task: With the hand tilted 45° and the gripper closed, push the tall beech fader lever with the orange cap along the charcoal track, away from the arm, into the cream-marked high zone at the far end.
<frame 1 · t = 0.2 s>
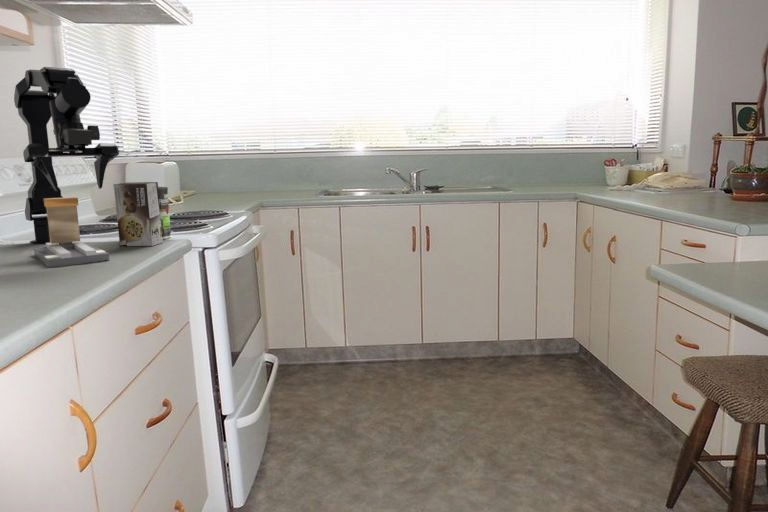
hand: (79, 189, 136), 16 cm above the counter, tool tilted 15°, fingers open, 9 cm apart
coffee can: (152, 239, 167), on the counter
fader deck: (70, 257, 138), on the counter
grey printed cardboard box: (141, 245, 156), on the counter
fader: (63, 222, 141), point 8 cm above the counter, slide at -5.0 cm
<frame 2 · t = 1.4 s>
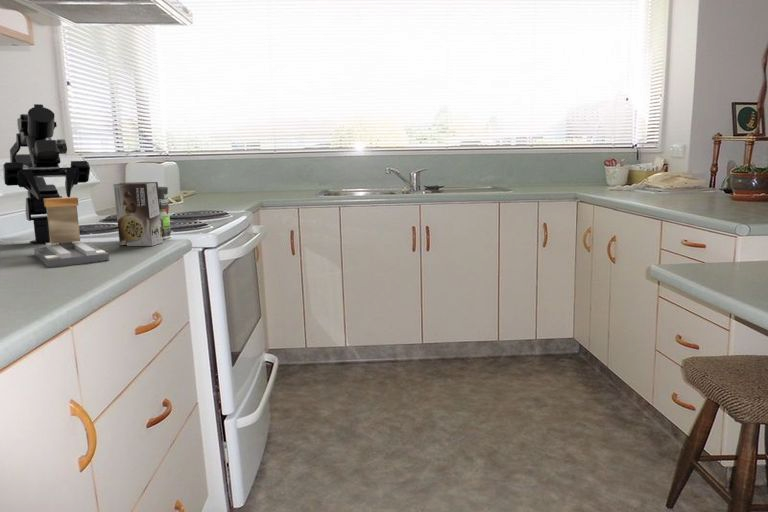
hand: (54, 197, 146), 13 cm above the counter, tool tilted 45°, fingers open, 6 cm apart
nothing on the counter moved.
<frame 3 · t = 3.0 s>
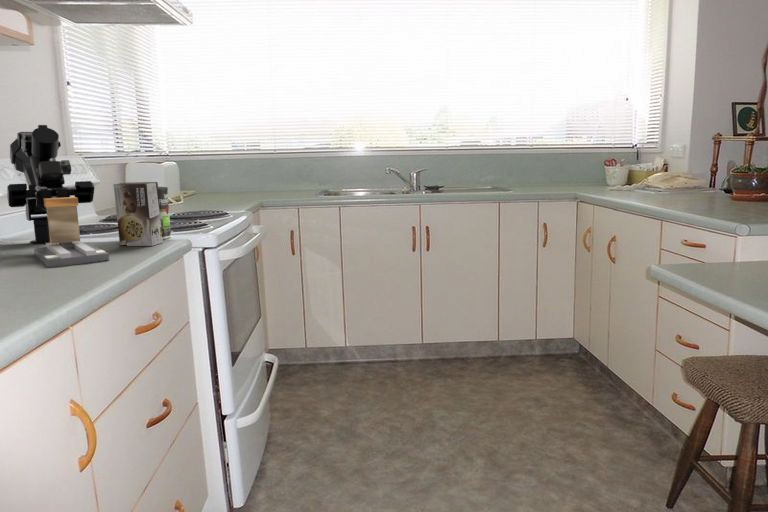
hand: (58, 219, 145), 8 cm above the counter, tool tilted 45°, fingers closed
nothing on the counter moved.
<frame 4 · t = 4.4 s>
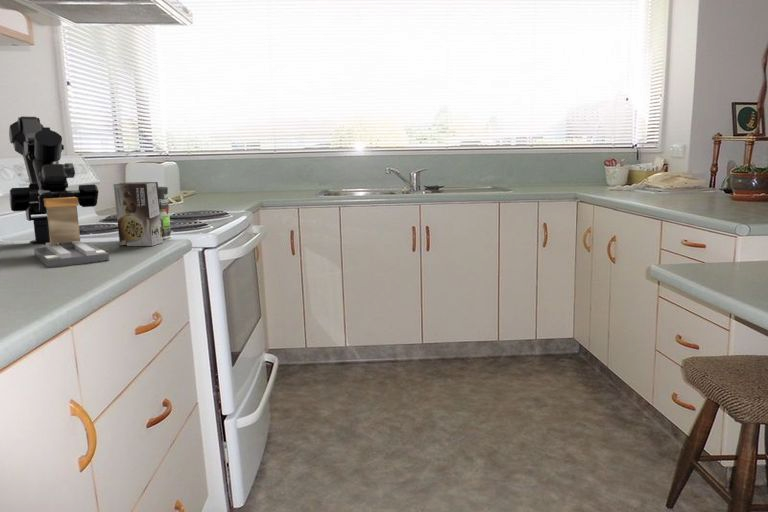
hand: (62, 223, 142), 7 cm above the counter, tool tilted 45°, fingers closed, pressing on fader
fader: (63, 222, 141), point 8 cm above the counter, slide at -5.0 cm, touching gripper
everything else where it was.
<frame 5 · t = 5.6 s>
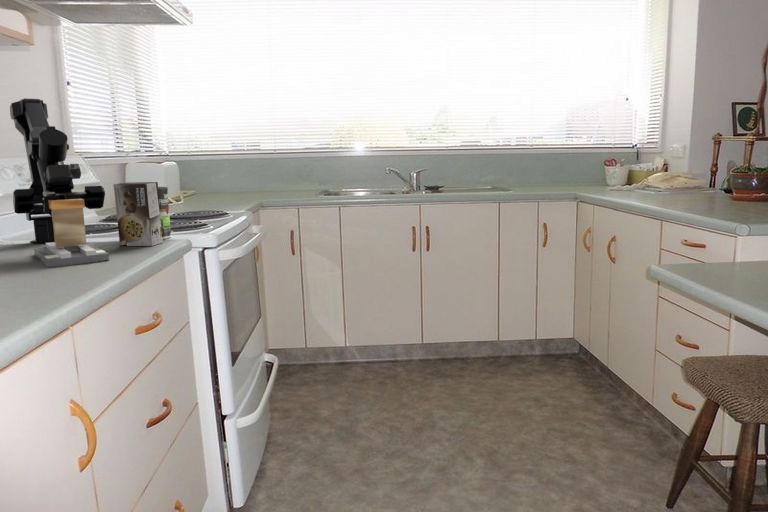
hand: (67, 226, 136), 7 cm above the counter, tool tilted 45°, fingers closed, pressing on fader
fader: (68, 225, 135), point 8 cm above the counter, slide at 1.9 cm, touching gripper
everything else where it was.
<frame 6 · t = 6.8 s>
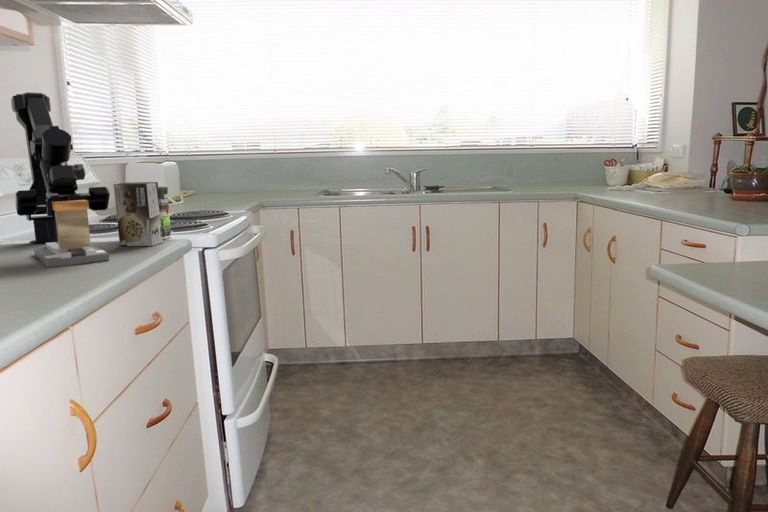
hand: (71, 228, 133), 7 cm above the counter, tool tilted 45°, fingers closed, pressing on fader
fader: (72, 227, 132), point 8 cm above the counter, slide at 6.3 cm, touching gripper
everything else where it was.
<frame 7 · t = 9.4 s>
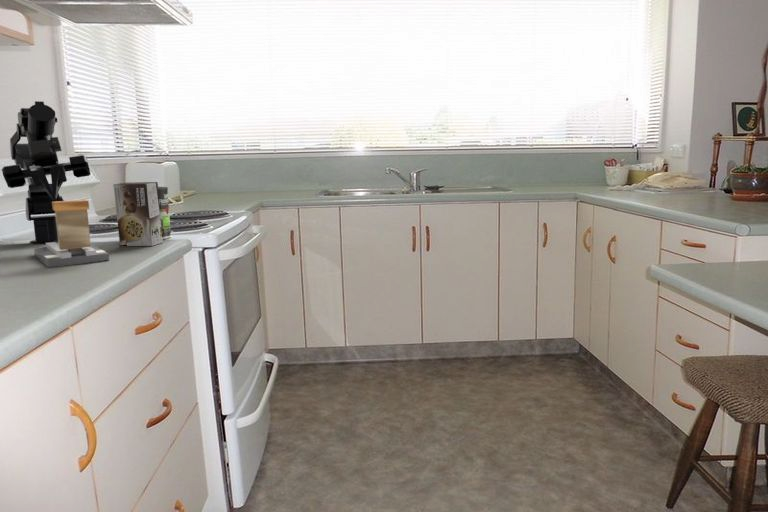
hand: (54, 198, 146), 13 cm above the counter, tool tilted 40°, fingers closed
fader: (72, 227, 132), point 8 cm above the counter, slide at 6.4 cm
everything else where it was.
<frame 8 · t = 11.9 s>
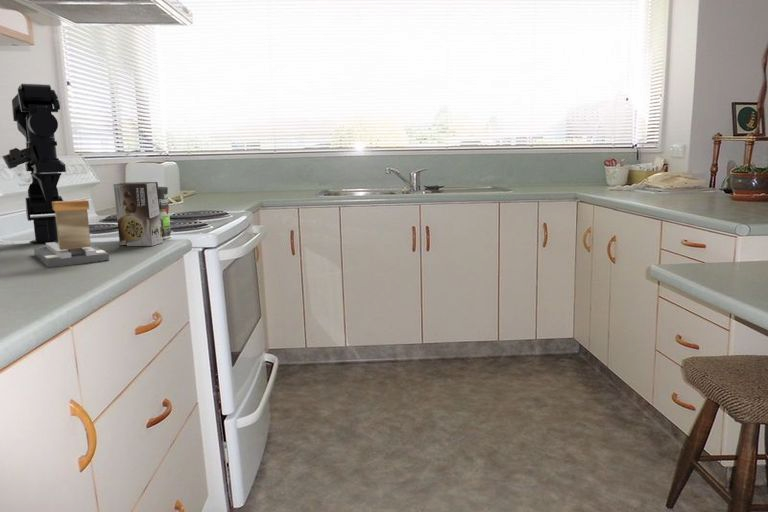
hand: (48, 201, 148), 12 cm above the counter, tool pointing down, fingers closed
nothing on the counter moved.
at the end: fader slide at 6.4 cm; grey printed cardboard box moved 0.2 cm from its start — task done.
